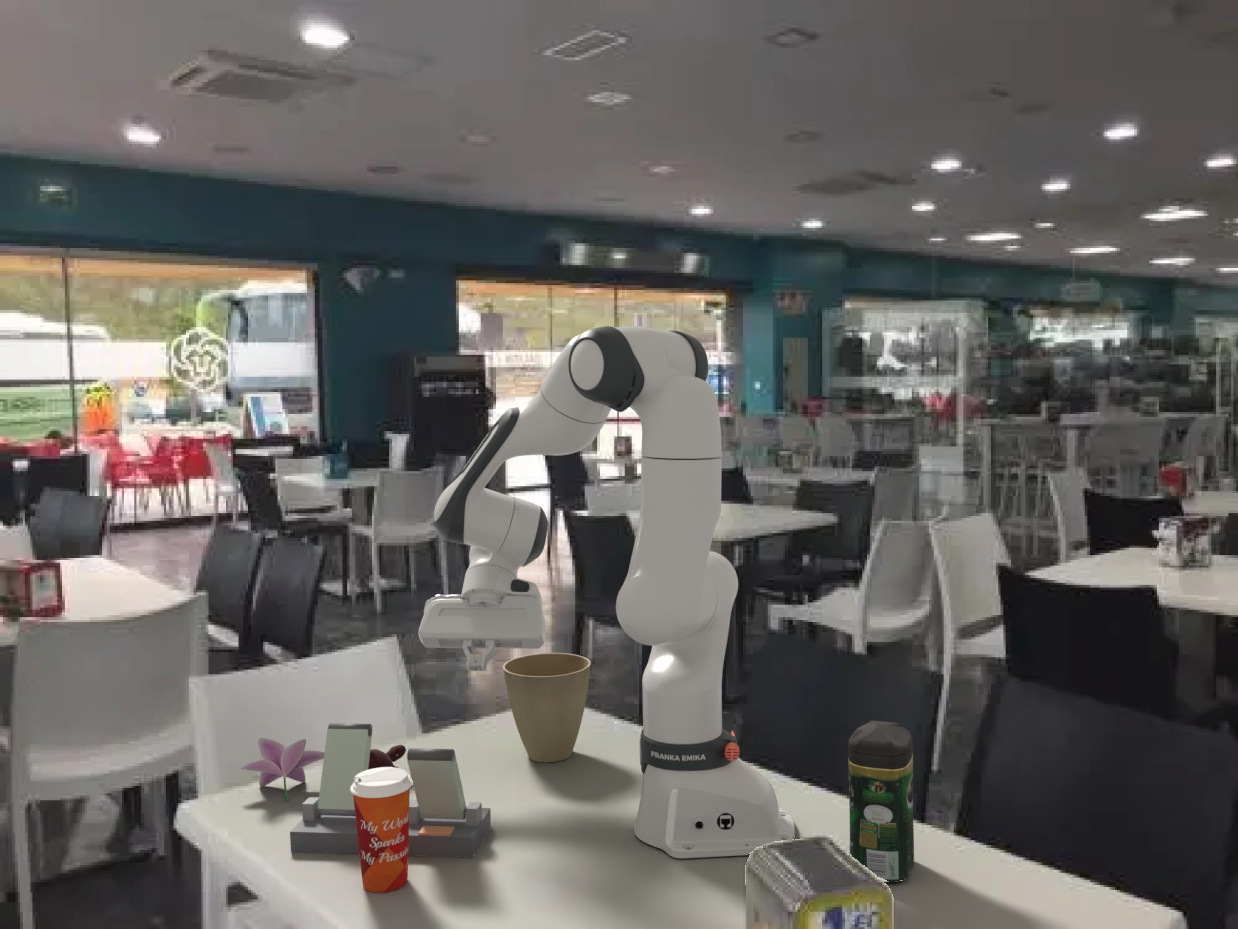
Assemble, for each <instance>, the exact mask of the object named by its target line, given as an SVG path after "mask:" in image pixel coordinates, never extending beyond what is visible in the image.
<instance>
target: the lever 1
mask: <svg viewBox="0 0 1238 929" xmlns="http://www.w3.org/2000/svg"><path fill="white" fill-rule="evenodd" d="M326 732H327V733H326V739H325V746H324V748H325V749H324V753H325V754H324V759H323V763H322V772H321V778H320V779H321V780H320V788H319V795H318V796H319V797H318V798H319V801H318V814H319V815H331V816H355V807H354V797H353V794H352V793H351V791H350V788H351V786H352V784H353V780H354V778H355V776H356V775H357V774H359V773H361V772H363V771H366V770H368V766H369V757H370V750H371V747H372V739H373V725H372V724H371V723H343V722H342V723H339V722H338V723H337V722H333V723H332V722H330V723H328V726H327V731H326Z"/></svg>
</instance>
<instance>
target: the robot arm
mask: <svg viewBox="0 0 1238 929" xmlns="http://www.w3.org/2000/svg"><path fill="white" fill-rule="evenodd" d="M708 374H709V358H708V355H707V351H706V349H705V348H704V346H703V344H702V343H701V342H700V340H698V339H697V338H696V337H694V336H692V335H690V334H688V333H686V332H682V331H679V330H675V329H673V330H664V329H659V328H651V327H647V326H642V325H629V326H627V325H626V326H616V327H614V326H610V325H605V326H599V327H595V328H591V329H588V330H586V331H584V332H583V333H581V334H578V335H576V336H574V337H572V338H571V340H570V341H568V343H567V344H566V345H565V346H564V347H563V349H562V351H561V352H560V353H559V355H558V356H557V358H556V359H555V361H554V363H553V364H552V366H551V367H550V369H549V371H548V373H547V375H546V377H545V378H544V380H543V383H542V384H541V387H540V389H539V390H538V391H537V393H536V394H535V395H534V396H533V397H532V398H531V399H529V400H528V401H527V402H525V403H524V404H522V405H520V406H518V407H512V408H508V409H507V410H506V411H505V412H503V414H502V415H501V416H500V417H499V418H498V420H496V421H495V423H494V425H493V426H492V427H491V428H490V429H489V431H488V432H487V434H486V435H485V436H484V437H483V439H482V441H481V442H480V443H479V444H478V446H477V448H476V449H475V450H474V452H473V453H472V454H471V456H470V457H469V459H468V460H467V461H466V463H465V465H464V466H463V467H462V469H461V470H460V472H458V474H457V475H456V476H455V477H454V478H453V479H452V481H451V482H449V484H448V485H447V486H446V487H445V489H444V490H443V491H442V493H441V494H440V495H439V497H438V499H437V502H436V504H435V507H434V511H433V518H432V520H433V521H432V522H433V524H434V526H435V528H436V529H437V531H438V534H439V535H440V536H441V537H442V539H443V540H444V541H446V542H451V543H455V544H460V545H467V546H470V549H469V553H468V554H469V555H468V558H469V565H468V568H467V569H466V571H465V574H464V580H463V585H462V589H461V594H436V595H434V596H433V597H431V598H429V599H427V600H426V601H425V603H424V604H425V605H424V608H423V616H422V618H421V621H420V625H419V627H418V632H417V634H418V637H419V640H420V641H421V644H422V645H423V646H424V648H427V649H463V652H464V654H465V656H466V663H465V668H466V671H468V672H487V668H488V663H489V662H490V661H491V660H492V659H493V657H494V656H495V655H496V654H497V649H534V650H535V649H541V647H542V646H543V645H544V644H545V643H546V620H545V616H544V615H545V614H544V611H543V599H542V595H541V592H540V589H539V587H538V585H537V584H536V583H535V582H532V581H528V580H525V579H521V578H518V571H519V569H520V568H524V567H526V566H528V565H529V564H531V563H533V562H534V561H535V560H536V559H538V558H540V556H541V555H542V554H543V551H544V549H545V546H546V543H547V542H546V541H547V536H548V528H549V520H548V517H547V515H546V513H545V510H544V509H543V507H541V506H539V505H538V504H535V503H534V502H531V501H528V500H524V499H522V498H519V497H515V496H510V495H508V494H505V493H503V492H502V493H501V492H499V491H495V490H493V489H489V488H486V486H487V485H488V483H490V480H492V478H493V477H494V475H495V474H496V472H497V471H498V470H499V468H500V467H501V465H502V464H504V462H507V461H508V460H510V459H512V458H516V457H523V456H539V455H540V456H554V457H555V456H556V457H557V456H558V457H560V456H566V455H572V454H575V453H578V452H580V451H582V450H584V449H586V448H587V447H589V446H590V445H591V444H592V443H593V441H595V439H596V438H597V436H598V435H599V433H600V432H601V430H602V428H603V426H604V424H605V422H606V421H607V419H608V416H609V414H610V412H611V411H612V410H614V411H615V412H618V413H622V412H625V411H626V410H627V409H629V408H630V409H631V410H632V411H634V412H635V414H636V415H637V416H638V418H639V420H640V423H641V457H640V458H641V459H640V460H641V461H640V462H641V464H640V465H641V466H640V468H641V469H640V470H641V471H640V507H639V508H640V509H639V518H638V525H637V529H636V535H635V540H634V543H633V548H632V549H633V550H632V553H631V558H630V561H629V562H630V563H629V567H628V572H627V575H626V577H625V579H624V581H623V584H622V586H621V587H620V589H619V591H618V593H617V596H616V600H615V601H616V602H615V613H616V617H617V621H618V622H619V625H620V627H621V629H622V630H623V631H624V633H625V634H626V635H627V637H629V638H630V639H632V640H633V641H635V642H636V643H638V644H641V645H644V646H651V650H650V651H651V652H650V654H649V657H648V662H647V664H646V666H645V669H644V670H643V674H642V681H641V682H642V684H641V686H642V725H643V726H642V729H641V732H640V736H639V765H640V770H641V774H642V779H641V791H640V798H639V803H638V804H639V805H638V809H637V815H636V818H635V822H634V826H633V832H634V834H635V836H636V837H637V838H638V839H639V840H641V841H642V842H643V843H645V844H647V845H650V846H652V847H655V848H659V849H660V850H662V851H664V852H665V853H667V854H668V855H669V856H671V857H672V858H674V859H695V858H698V859H699V858H715V857H716V858H717V857H732V856H733V857H735V856H749V855H748V854H749V853H750V852H752V851H753V850H754V849H755V848H756V847H759V846H762V845H764V844H767V843H771V842H774V841H781V840H792V839H794V838H795V839H796V829H795V822H794V820H793V817H792V816H791V815H790V813H789V812H788V811H786V810H785V809H784V808H781V807H779V804H778V799H777V794H776V793H775V790H774V788H773V785H772V784H771V782H770V781H769V779H768V778H767V777H766V776H764V775H763V774H762V773H760V772H758V771H757V770H756V769H755V768H753V767H751V766H750V765H749V764H747V763H746V762H745V761H744V760H742V759H741V758H739V757H740V755H741V754H740V750H741V749H740V748H741V747H740V746H739V745H738V741H737V740H738V739H737V737H736V735H735V733H734V730H730V731H731V732H729V731H727V730H726V729H724V728H723V714H722V713H723V706H722V704H723V701H722V699H723V698H722V696H723V695H722V694H723V692H722V691H723V690H722V688H723V687H722V684H723V683H722V681H723V670H724V661H725V656H726V649H727V644H728V637H729V631H730V622H731V615H732V610H733V606H734V603H735V599H736V598H737V594H738V590H739V579H738V575H737V572H736V570H735V568H734V566H733V564H732V563H731V562H730V561H729V559H727V557H725V556H724V555H722V554H720V553H718V552H716V551H713V550H711V546H712V542H713V537H714V534H715V533H714V532H715V530H716V527H717V524H718V522H719V520H720V518H721V513H722V474H723V472H722V465H723V464H722V462H723V460H722V459H723V457H722V453H723V452H722V450H723V448H722V446H723V445H722V428H721V419H720V412H719V405H718V401H717V396H716V393H715V390H714V388H713V387H712V386H711V384H710V383H708V381H707V379H708ZM475 649H486V650H484V652H483V654H482V655H480V656H476V655H475V656H473V655H472V654H473V653H474V652H475Z"/></svg>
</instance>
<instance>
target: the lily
mask: <svg viewBox="0 0 1238 929" xmlns="http://www.w3.org/2000/svg"><path fill="white" fill-rule="evenodd" d="M257 743H258V748H259V749H258V750H259V753H260V755H261V756H260V757H261V759H259V760H256V761H254V762H250V763H248V764H246V765H243V766H242V767H241V770H242V771H243V770H244V771H250V772H251V771H253V772H254V771H255V772H260V775H259V782H258V783H259V787H265V786H267V785H269V784H271V783H273V782H274V781H276V780H278V779H280V778H282V777H283V788H284V795H285V796H284V797H285V802H288V801H289V798H288V790H287V779H286V778H288V779H290V780H293V781H297V782H299V783H302V782H304V783H306V773H305V770H304V768H305V767H306V766H308V765H310V764H312V763H315V762H317V761H321V760H324V754H325V751H318V750H310V749H309V750H308V749H307V750H306V749H305V748H306V744H307V740H306V738H305V739H300V740H298V741H296V742H294V743H293V744H290V745H289V746H288V747H286V745H284V744H282V743H280V742H278V741H276V740H273V739H269V738H263V737H262V738H259V739H258V740H257Z"/></svg>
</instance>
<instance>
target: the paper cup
mask: <svg viewBox="0 0 1238 929" xmlns="http://www.w3.org/2000/svg"><path fill="white" fill-rule="evenodd" d="M395 767H396V766H395ZM395 767H380V768H373V769H369V770H366V771H363V772H361V773H359V774H357V775H356V776H355V778H354V780H353V784H352V786H351V788H350V791H351V793H352V794H353V797H354V807H355V817H356V827H357V836H358V846H359V854H358V855H359V863H360V871H361V880H362V886H363V888H364V890H365V891H368V892H370V893H375V894H381V893H382V894H384V893H390V892H394V891H397V890H399V889H401V888H403V887H405V885H406V884H407V882H408V876H409V875H408V872H409V856H408V846H409V802H410V796H411V795H410V789H411V787H412V786H413V781H412V778H411V774H409V773H408V772H407V771H406V770H405V769H404V768H399V767H398V768H395Z"/></svg>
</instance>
